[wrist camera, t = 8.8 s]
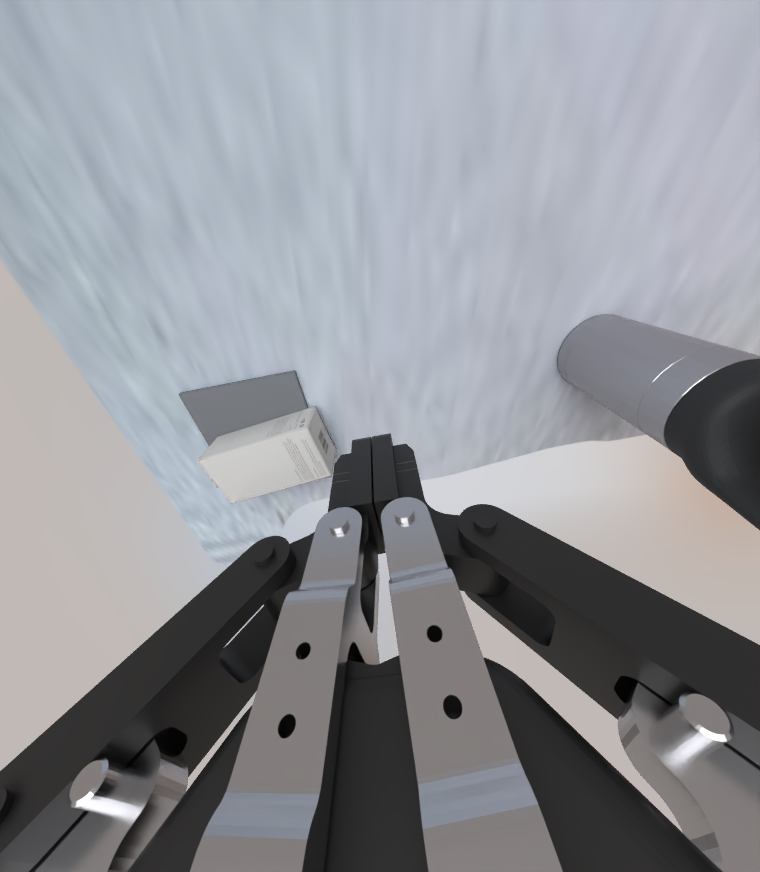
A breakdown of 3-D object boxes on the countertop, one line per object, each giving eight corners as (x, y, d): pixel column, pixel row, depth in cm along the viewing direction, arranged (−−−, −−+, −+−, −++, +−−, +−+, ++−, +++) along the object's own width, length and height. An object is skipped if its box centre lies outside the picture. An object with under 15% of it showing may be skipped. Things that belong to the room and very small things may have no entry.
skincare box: (316, 404, 42) (216, 432, 44) (307, 428, 36) (193, 459, 38) (337, 452, 46) (245, 475, 48) (332, 480, 41) (228, 505, 43)
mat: (295, 370, 40) (294, 372, 39) (331, 474, 49) (331, 476, 49) (180, 392, 41) (178, 394, 40) (238, 490, 50) (236, 492, 50)
